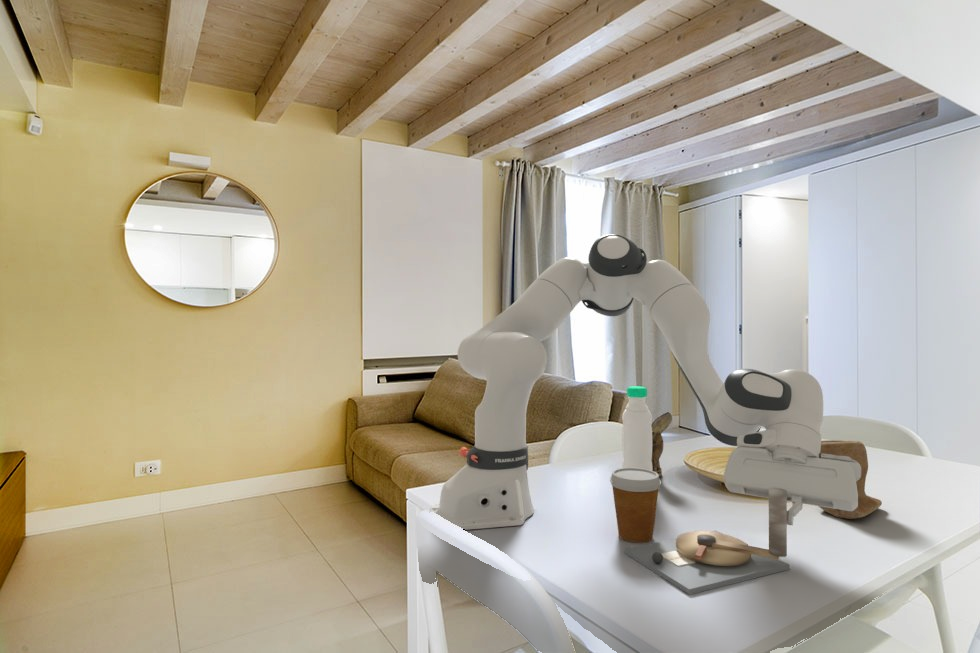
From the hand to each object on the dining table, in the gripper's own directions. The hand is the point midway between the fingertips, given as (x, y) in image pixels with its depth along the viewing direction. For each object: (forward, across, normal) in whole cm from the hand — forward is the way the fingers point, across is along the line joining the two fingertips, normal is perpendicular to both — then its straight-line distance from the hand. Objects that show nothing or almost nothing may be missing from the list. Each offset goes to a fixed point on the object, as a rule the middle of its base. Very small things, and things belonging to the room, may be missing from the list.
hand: (783, 522), depth 91 cm
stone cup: (-21, -6, -34) cm, 40 cm away
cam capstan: (+7, +8, -2) cm, 11 cm away
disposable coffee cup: (+6, +25, -5) cm, 26 cm away
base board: (+9, +12, -2) cm, 15 cm away
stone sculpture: (-21, +37, -34) cm, 54 cm away
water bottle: (-13, +35, -24) cm, 45 cm away
